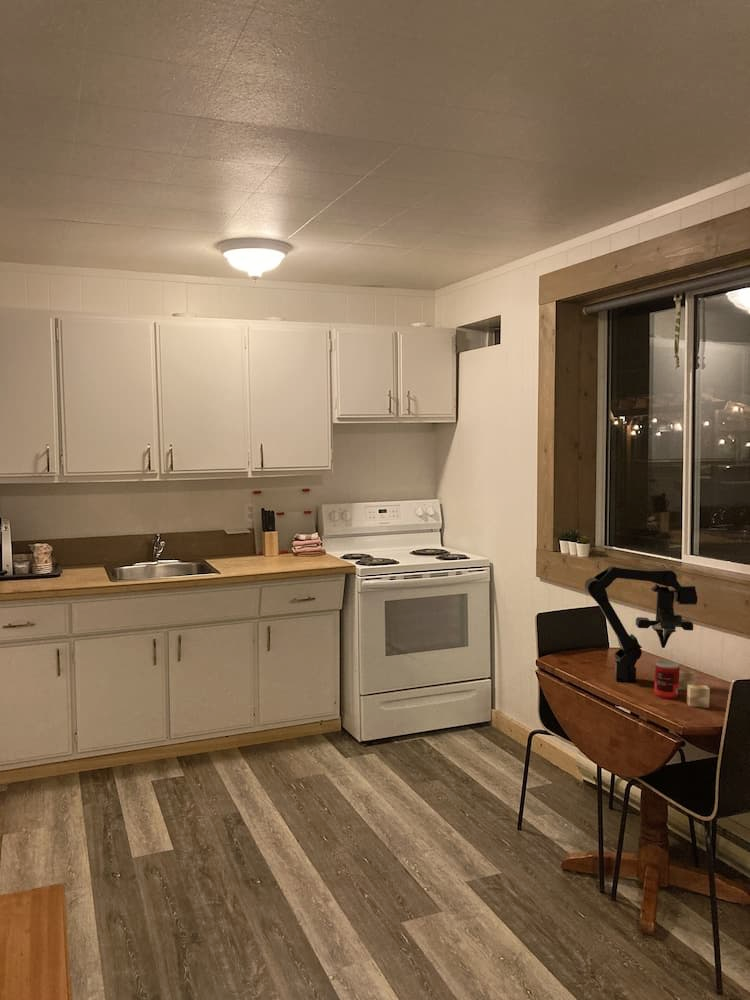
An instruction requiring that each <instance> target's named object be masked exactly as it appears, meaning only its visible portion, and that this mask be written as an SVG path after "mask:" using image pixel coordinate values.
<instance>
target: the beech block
mask: <svg viewBox="0 0 750 1000" xmlns="http://www.w3.org/2000/svg"><path fill="white" fill-rule="evenodd" d="M710 693H711V688H710V687H709V686H708V685H704V684H703V685H701V684H695V685H687V690H686V704H687V705H688V707H695V708H710V697H711V696H710Z"/></svg>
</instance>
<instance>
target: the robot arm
mask: <svg viewBox="0 0 750 1000" xmlns="http://www.w3.org/2000/svg"><path fill="white" fill-rule="evenodd" d="M617 579H622V580H623V579H625V580H634V581H643V582H644V581H645V582H651V583H654V584H655V585H654V586H652V587H651V588H650V590H651V591H652V592H654V593H656V606H655V609H656V610H655V620H652V619H649V618H648V617H643V616H642V617H641V616H639V617H637V618H635V625H636V628H638V629H649V628H652V630H653V631H654V632H656V634H657V636H658V640H659V644H660V647H661V648H662V649H666V646H667V644H668V640H669V638H670V637H671V635H672V634H673V633H676V632H677V630H676V628H682V629H683V631H694V623H693V622H692V621H691V620H690V619H683V617H682V615H680V614H676V615H675V611H674V610H675V609H674V608H675V607H674V605H675V604H674V603H677V605H678V606H679V605H681V606H696V605H697V603H698V595H697V591H696V586H695V585H681V584H680V582H679V581H678V577H677V574H676V573H675V571H673V570H672V569H670V568H666V567H660V568H659V567H657V568H652V569H650V568H649V569H645V568H644V569H643V568H634V567H633V568H632V567H623V566H616V565H609V566H608V567H607V568H606V569H604V570H603V571H601V572H599V573H597V574H596V575H595V576H593V577H590V578H587V579H586V581H585V583H584V589H585V591H586V592H587V593H588V595H590V597H591V598H592V599H593V600H594V601H595V602H596V604H597V605H598V606H599V608H600V610H601V611H602V614H603V615H604V617H605V618H606V620H607V622H608V624H609V626H610V627H611V629H612V631H613V633H614V634H615V636H616V638H617V641H618V646H619V649H618V650H617V651H616V652H615V653H614V658H615V664H614V665H615V668H614V669H615V670H614V675H613V677H614V680H615V681H616V682H620V681H624V683H636V679H637V668H636V663H637V662H638V661H639V659H641V657H642V654H643V651H642V648H643V647H642V646H641V644H639V641H638V639H637V637H636V636H635V635H634V634H633V633H631V634H629V633H628V632H627V630H626V628H625V626H624V624H623V623H622V621H621V620H620V617H619V616H618V614H617V612H616V611H615V609H614V607H613V606H612V604H611V602H610V600H609V596H608V593H607V590H606V589H607V588H609V587H610V586H611V584H612V583H613V582H614V581H615V580H617ZM671 588H672V589H671Z"/></svg>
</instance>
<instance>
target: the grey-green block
mask: <svg viewBox="0 0 750 1000" xmlns="http://www.w3.org/2000/svg"><path fill="white" fill-rule="evenodd" d="M696 678H697V674H696V672H695V671H694V670H692V669H680V672H679V691H687V685H696Z"/></svg>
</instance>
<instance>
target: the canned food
mask: <svg viewBox="0 0 750 1000" xmlns="http://www.w3.org/2000/svg"><path fill="white" fill-rule="evenodd" d="M680 665H681V664H680V663H678V662H676V661H672V660H665V659H663V660H662V659H661V660H657V661H655V665H654V667H655V668H654V669H655V670H654V686H653V687H654V689H653V690H654V695H655V696H656V697H658V698H660V697H661V699H665V698H666V699H667V700H672V699H673V700H674V698H675V699H678V696H679V691H680V690H679V672H680V670H681V668H680V667H681V666H680ZM666 699H665V700H666Z"/></svg>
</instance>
